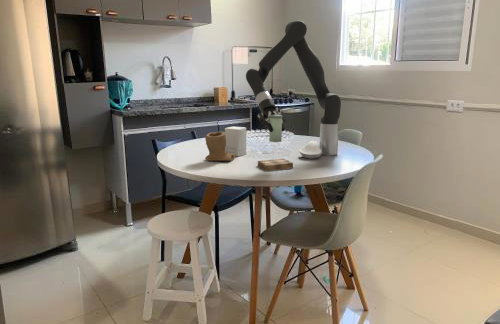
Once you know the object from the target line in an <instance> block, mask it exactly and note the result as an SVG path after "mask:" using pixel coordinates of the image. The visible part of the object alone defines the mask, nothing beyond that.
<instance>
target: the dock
mask: <svg viewBox="0 0 500 324" xmlns="http://www.w3.org/2000/svg"><path fill="white" fill-rule="evenodd" d="M257 166H258V167H259V168H261V169H263V170H264V171H265V172H266V171H277V170H285V169H293V168H294V163H293V161H290V160H289V159H286V158H274V159H262V160H257Z"/></svg>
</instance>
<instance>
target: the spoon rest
mask: <svg viewBox="0 0 500 324" xmlns="http://www.w3.org/2000/svg"><path fill="white" fill-rule="evenodd" d="M321 153H322V151H321V149H320V144H318V141H317V140H315V141H314V140H310V141H309V142H308V143H307V144H306V145H304V146H302V147H301V148H300V149H299V154H300V155H301V157H303V158H304V159H313V160H314V159H316V158H319V157H320V156H321Z"/></svg>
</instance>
